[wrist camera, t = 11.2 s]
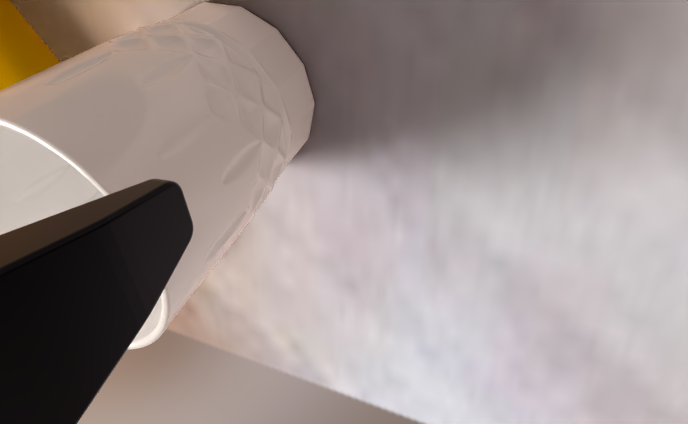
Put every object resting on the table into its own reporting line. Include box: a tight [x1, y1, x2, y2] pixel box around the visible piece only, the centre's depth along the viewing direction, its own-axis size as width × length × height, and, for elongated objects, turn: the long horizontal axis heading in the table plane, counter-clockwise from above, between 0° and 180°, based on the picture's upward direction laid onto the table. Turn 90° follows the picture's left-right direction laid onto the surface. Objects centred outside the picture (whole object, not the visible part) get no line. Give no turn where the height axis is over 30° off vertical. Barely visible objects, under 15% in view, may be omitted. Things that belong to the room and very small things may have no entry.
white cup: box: [0, 2, 315, 350], centre depth 20 cm, size 8×8×10 cm
